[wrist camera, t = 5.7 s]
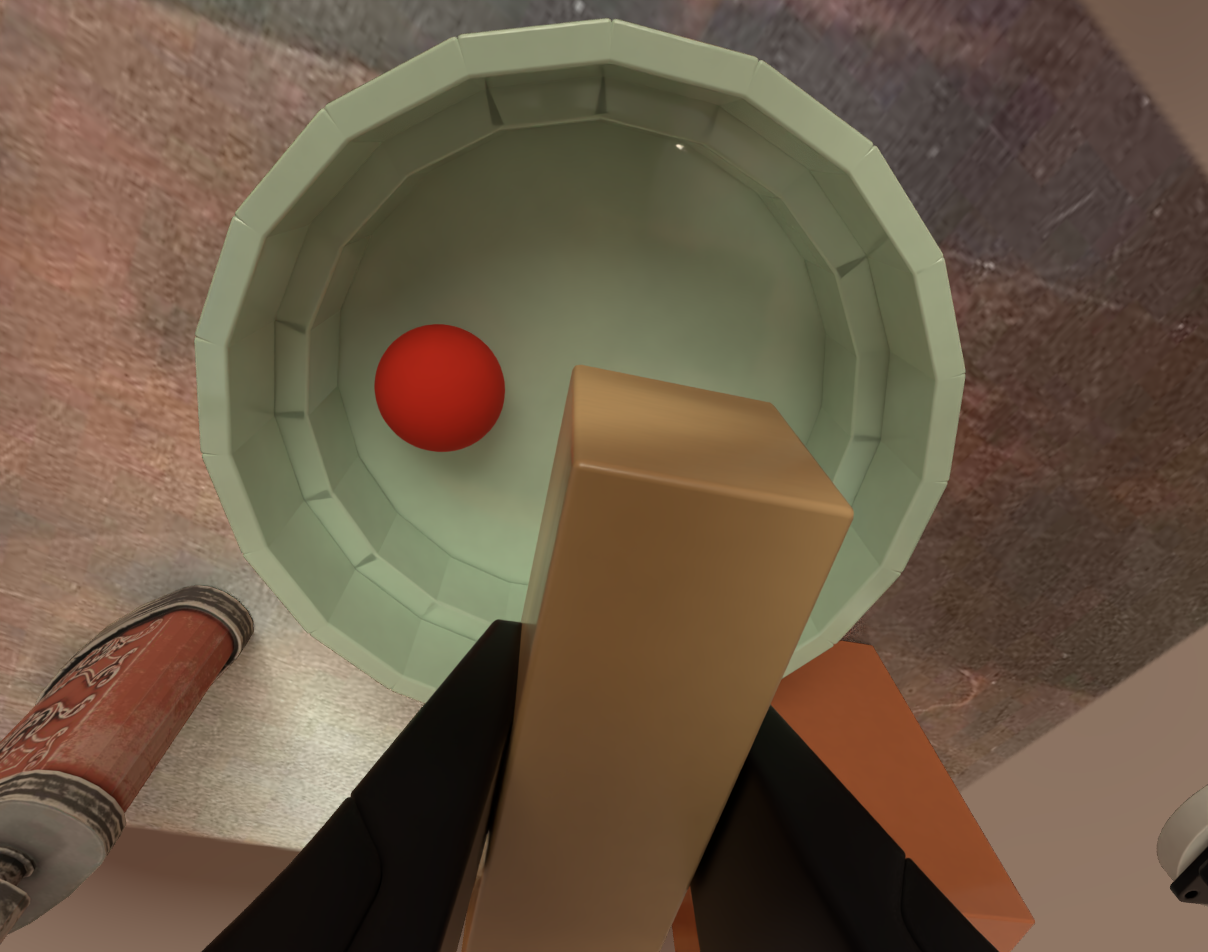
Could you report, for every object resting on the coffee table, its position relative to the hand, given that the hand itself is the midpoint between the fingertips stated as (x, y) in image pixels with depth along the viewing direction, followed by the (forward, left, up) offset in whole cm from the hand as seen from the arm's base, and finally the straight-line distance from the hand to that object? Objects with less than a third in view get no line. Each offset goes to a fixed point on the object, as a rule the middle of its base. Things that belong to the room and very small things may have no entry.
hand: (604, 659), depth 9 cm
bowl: (0, 0, -10) cm, 10 cm away
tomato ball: (+4, 0, -8) cm, 9 cm away
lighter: (+12, +12, -10) cm, 20 cm away
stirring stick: (0, 0, 0) cm, 0 cm away
